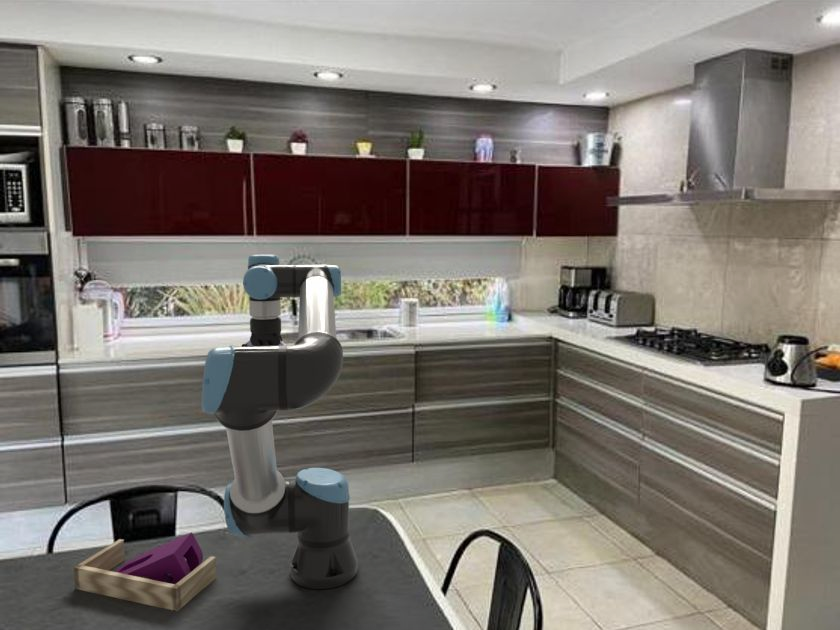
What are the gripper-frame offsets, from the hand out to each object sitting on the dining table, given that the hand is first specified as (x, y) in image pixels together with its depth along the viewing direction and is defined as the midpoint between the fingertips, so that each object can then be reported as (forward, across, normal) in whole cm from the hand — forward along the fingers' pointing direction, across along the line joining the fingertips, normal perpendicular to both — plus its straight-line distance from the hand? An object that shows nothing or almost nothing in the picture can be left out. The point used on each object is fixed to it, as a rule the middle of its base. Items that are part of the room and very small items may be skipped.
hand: (268, 409), depth 161 cm
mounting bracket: (+33, +12, +29) cm, 46 cm away
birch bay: (+32, +13, +31) cm, 46 cm away
